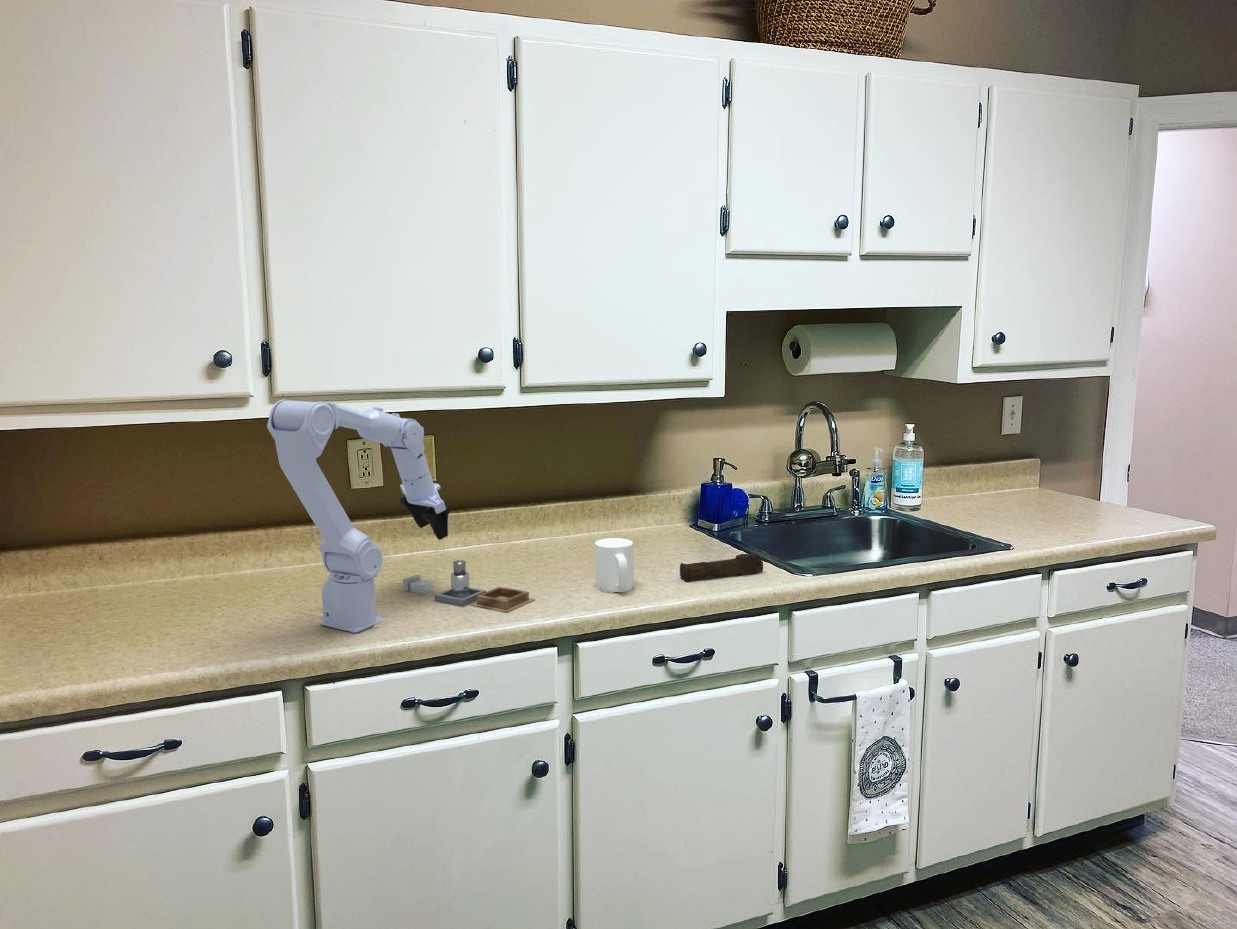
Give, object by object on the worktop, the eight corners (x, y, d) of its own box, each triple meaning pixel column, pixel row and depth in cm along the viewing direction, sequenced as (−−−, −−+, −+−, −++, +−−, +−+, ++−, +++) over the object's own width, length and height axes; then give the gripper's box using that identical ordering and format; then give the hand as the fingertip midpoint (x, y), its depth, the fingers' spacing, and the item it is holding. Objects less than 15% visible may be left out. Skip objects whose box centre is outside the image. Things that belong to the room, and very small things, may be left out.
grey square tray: (431, 603, 188) (431, 594, 188) (458, 593, 195) (458, 584, 195) (463, 610, 184) (462, 601, 184) (489, 599, 191) (489, 590, 191)
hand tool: (684, 584, 201) (684, 562, 200) (678, 578, 205) (678, 557, 204) (767, 576, 206) (768, 556, 205) (760, 571, 210) (760, 551, 209)
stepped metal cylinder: (447, 599, 189) (446, 562, 188) (459, 594, 192) (458, 558, 191) (461, 602, 187) (460, 565, 186) (473, 597, 190) (472, 561, 189)
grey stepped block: (403, 593, 195) (403, 579, 195) (416, 588, 198) (416, 574, 198) (422, 597, 192) (421, 582, 192) (435, 592, 196) (434, 578, 195)
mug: (589, 538, 201) (625, 535, 203) (589, 581, 202) (626, 578, 205) (604, 552, 189) (643, 549, 192) (605, 598, 191) (643, 594, 193)
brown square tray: (470, 608, 185) (469, 596, 185) (499, 596, 193) (498, 584, 192) (507, 616, 181) (506, 603, 180) (535, 603, 188) (535, 591, 188)
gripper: (450, 474, 185) (468, 533, 191) (414, 456, 196) (432, 512, 202) (419, 490, 181) (438, 550, 188) (384, 470, 192) (403, 527, 198)
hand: (433, 531), depth 195 cm, fingers open, 7 cm apart
